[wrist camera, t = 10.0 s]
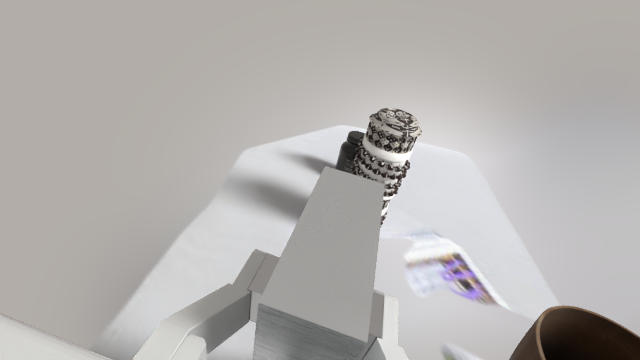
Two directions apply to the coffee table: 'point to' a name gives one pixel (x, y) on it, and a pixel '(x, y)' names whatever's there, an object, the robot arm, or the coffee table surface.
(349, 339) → the side door
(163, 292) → the coffee table surface
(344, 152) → the supplement bottle
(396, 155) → the black white cylinder
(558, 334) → the plant pot
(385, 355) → the robot arm
